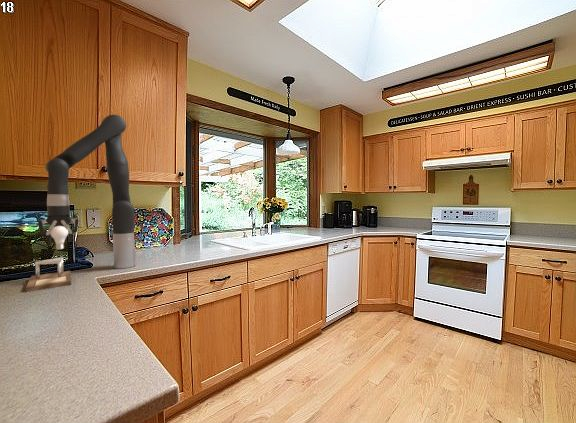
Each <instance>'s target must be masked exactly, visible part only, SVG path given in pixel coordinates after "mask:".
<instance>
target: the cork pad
mask: <svg viewBox="0 0 576 423" xmlns="http://www.w3.org/2000/svg"><path fill="white" fill-rule="evenodd" d="M59 282H66V276H65V277H58V278H50V279H43V280H37V281H36V284H35V286H39V285H45V284H52V283H59Z"/></svg>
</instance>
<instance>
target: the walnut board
mask: <svg viewBox="0 0 576 423" xmlns="http://www.w3.org/2000/svg"><path fill="white" fill-rule="evenodd" d="M63 272H64V273H62V277H65V276H66V282H59V283H52V284H45V285H39V286H35V284H36V281H37V280H43V279H50V278H58V271H57V272H52V273H51V272H50V273H44V274H40V278H39V279H36V274H35V275H31V276H30V278H29V280H28V282H27V284H26V287H25V291H26V292H34V291H39V290H40V291H41V290H45V289H52V288H57V287H58V288H59V287H65V286H70V285H72V282H71V279H72V278H71V270H66V271H63Z"/></svg>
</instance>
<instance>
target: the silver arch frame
mask: <svg viewBox="0 0 576 423" xmlns="http://www.w3.org/2000/svg"><path fill="white" fill-rule="evenodd" d="M53 264H56V265H57V272H58V277H62V273H64V272H65V271H64V257H63V256H61V257H60V256H59V257H56V258H50V259H44V260H43V259H42V260H38V261H37V260H36V261H34V265H35V275H36V279H39V278H40V275H41V274H40V273H41V272H40V265H53Z"/></svg>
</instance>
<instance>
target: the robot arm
mask: <svg viewBox="0 0 576 423" xmlns="http://www.w3.org/2000/svg"><path fill="white" fill-rule="evenodd" d="M126 129H127V123H126V121H125V119H124V118H123V117H122V116H120V115H119V114H110V115H107V116H105V118H103V119H102V121H101V123H100V124H99V126H97V127H96V128H94V129H93V131H91V132H89V133H88V134H86V135H85V136H83V137H82V138H80V139H78V140H77V141H76V142H74V143H72V144H71V145H70V146H68V147H66V149H65V150H64V151H62V152H61V153H60V154H57V155H56V156H54V157H53V158H52V159H50V160H48V161H47V163H46V164H45V170H46V172H47V174H48V175H47V176H48V180H47V183H46V184H47V185H46V188H47V191H46V192H47V197H46V210H47V212H46V213H47V217H46V219H38V221H37V224H38V228H39V233H40V234H41V235H45V236H46V240H45V241H46V244H48V245H50V244H52V237H51V235H50V233H51V230H52V229H53V228H54V227H56V226H64V227H65V228H66V229H67V230H68V232H69V234H68V236H67V237H68V243H71V242H72V241H73V234H75V233H77V232H78V228H79V222H80V219H78V218H72V217H71V214H70V213H71V210H70V208H71V207H70V204H71V203H70V197H69V184H68V182H69V175H70V173H69V172H70V169H71V168H72V167H74V166H75V165H76V164H77V163H80V162H81V161H83V160H84V159H86V158H87V157H88V156H90V155H91V154H92V153H93V152H94V151H95V150H97V149H98V148H100V146H101V145H103V144H104V145H105V146H104V147H105V161H106V162H105V163H106V170H107V176H108V181H109V185H110V189H111V192H112V208H111V217H112V219H111V220H112V245H113V246H112V248H113V249H112V250H113V251H112V252H113V258H112V259H113V268H114V269H126V268H131V267H132V268H133V267H136V265H137V263H136V247H135V209H134V207H133V204H132V201H131V197H130V169H129V167H130V166H129V162H128V159H127V156H126V154H125V151H124V148H123V144H122V134H123V133H124V132H125V131H126ZM71 222H72V224H74V228H73V229H71V228H70V226H69V224H70V223H71ZM46 223H47V224H48V225H49V228H48V230H47V231H46V230H45V229H44V228H45V227H44V225H46Z"/></svg>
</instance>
